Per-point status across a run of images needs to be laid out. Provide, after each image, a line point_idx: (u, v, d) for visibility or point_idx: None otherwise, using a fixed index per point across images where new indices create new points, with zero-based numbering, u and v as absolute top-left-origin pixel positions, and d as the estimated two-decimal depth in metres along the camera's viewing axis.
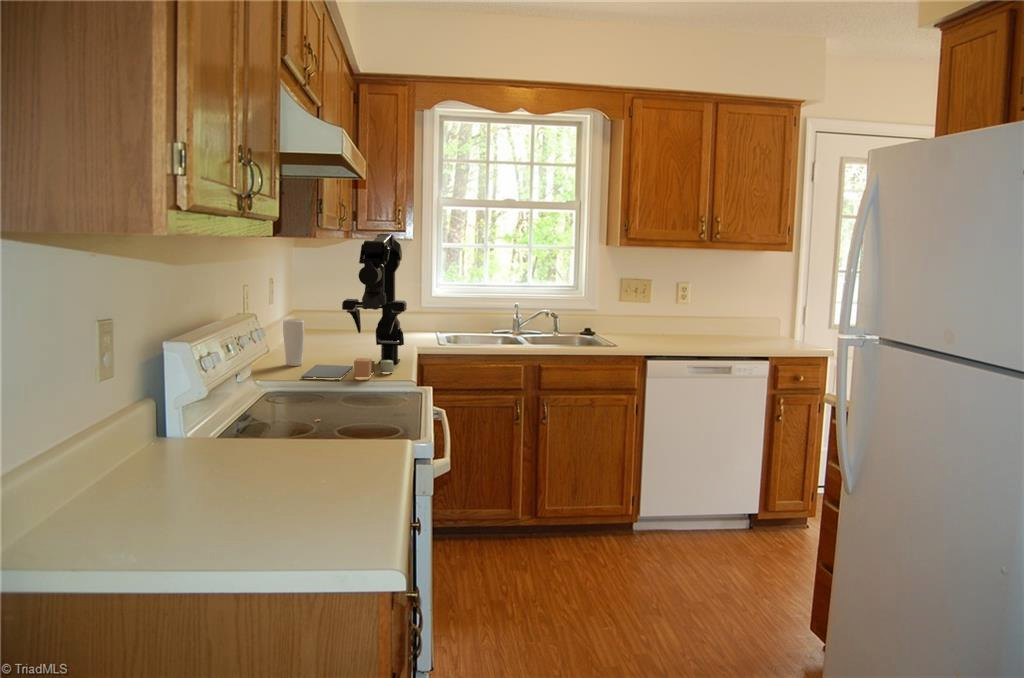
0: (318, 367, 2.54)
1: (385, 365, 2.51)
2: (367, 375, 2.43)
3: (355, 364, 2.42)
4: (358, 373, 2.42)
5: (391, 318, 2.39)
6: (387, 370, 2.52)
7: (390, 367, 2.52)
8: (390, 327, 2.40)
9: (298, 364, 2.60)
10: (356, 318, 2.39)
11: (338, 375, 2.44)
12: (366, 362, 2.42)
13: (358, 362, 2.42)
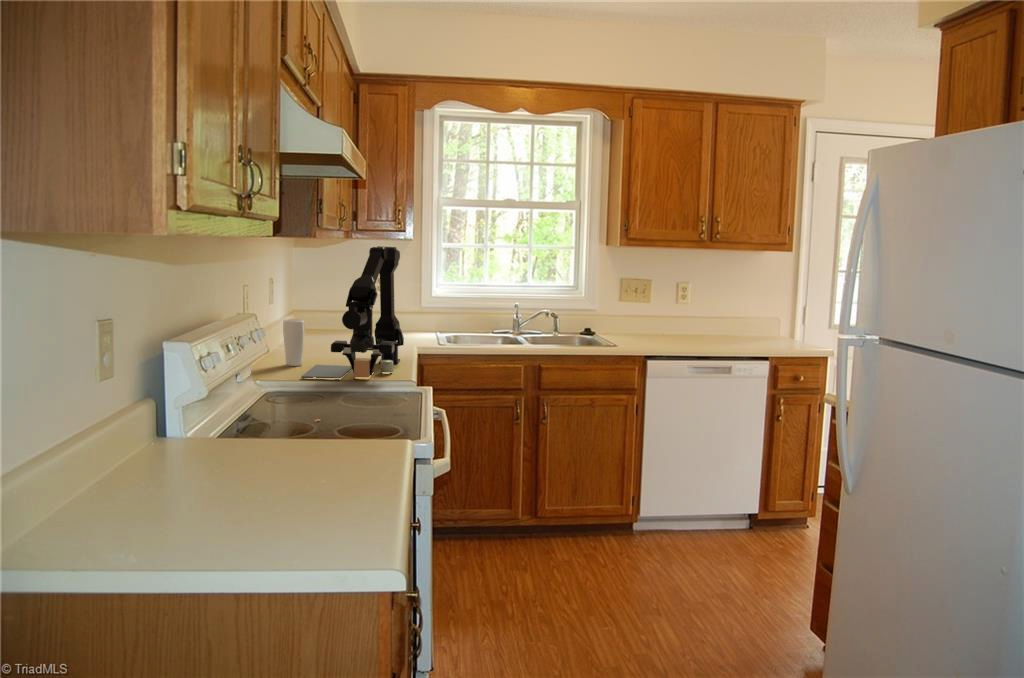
0: (318, 367, 2.54)
1: (385, 365, 2.51)
2: (367, 375, 2.43)
3: (355, 364, 2.42)
4: (358, 373, 2.42)
5: (372, 360, 2.43)
6: (387, 370, 2.52)
7: (390, 367, 2.52)
8: (371, 368, 2.44)
9: (298, 364, 2.60)
10: (352, 360, 2.43)
11: (338, 375, 2.44)
12: (366, 362, 2.42)
13: (358, 362, 2.42)
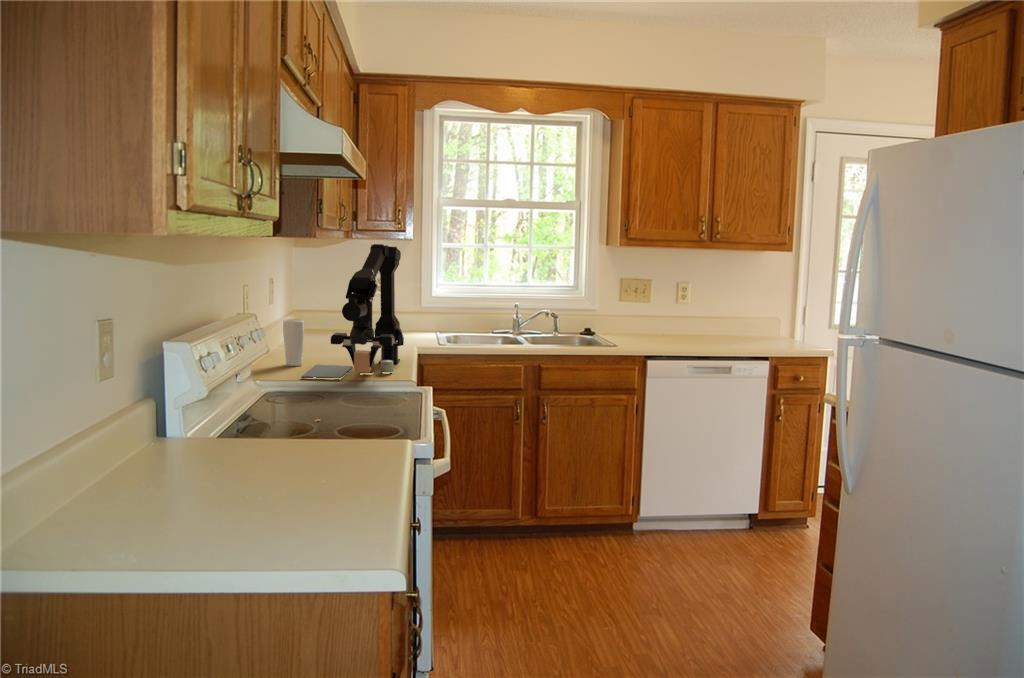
0: (318, 367, 2.54)
1: (385, 365, 2.51)
2: (367, 367, 2.42)
3: (355, 356, 2.42)
4: (358, 365, 2.42)
5: (372, 352, 2.42)
6: (387, 370, 2.52)
7: (390, 367, 2.52)
8: (371, 360, 2.43)
9: (298, 364, 2.60)
10: (351, 352, 2.42)
11: (338, 375, 2.44)
12: (366, 354, 2.41)
13: (358, 354, 2.41)
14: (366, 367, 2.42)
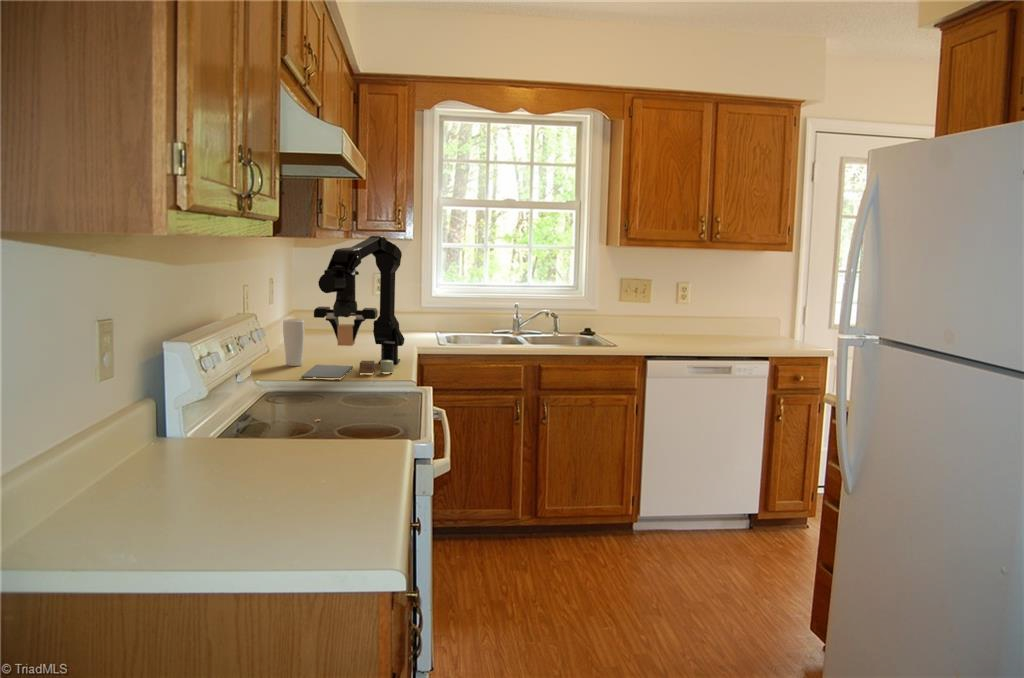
0: (318, 367, 2.54)
1: (385, 365, 2.51)
2: (350, 340, 2.43)
3: (338, 329, 2.43)
4: (341, 338, 2.43)
5: (355, 325, 2.43)
6: (387, 370, 2.52)
7: (390, 367, 2.52)
8: (354, 334, 2.44)
9: (298, 364, 2.60)
10: (335, 326, 2.43)
11: (338, 375, 2.44)
12: (349, 327, 2.42)
13: (341, 327, 2.42)
14: (349, 340, 2.43)
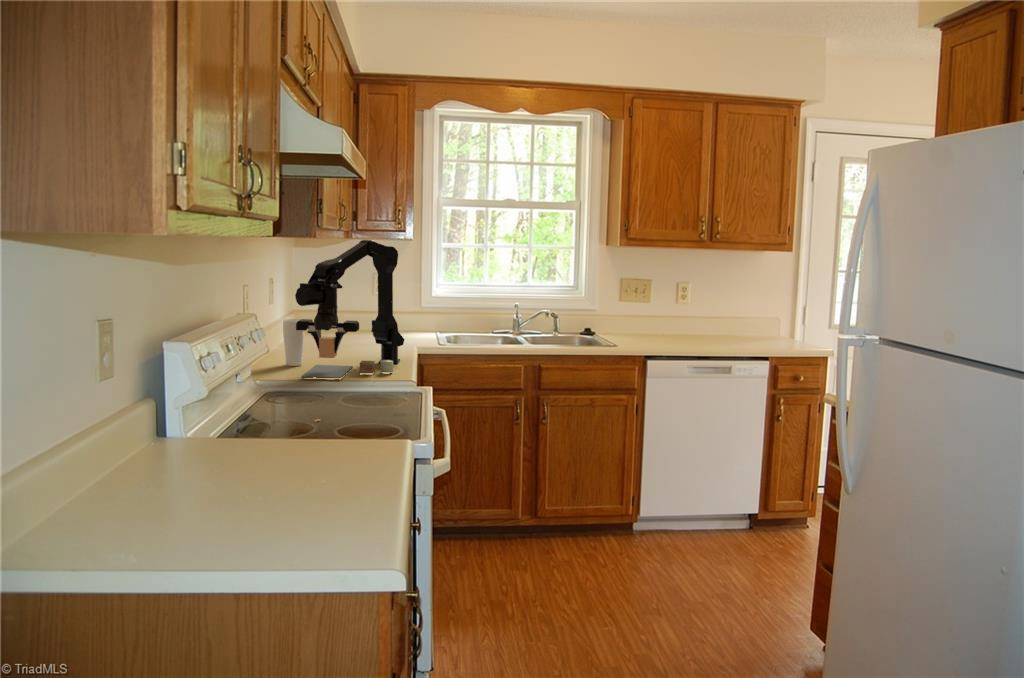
0: (318, 367, 2.54)
1: (385, 365, 2.51)
2: (332, 353, 2.47)
3: (320, 342, 2.46)
4: (323, 350, 2.46)
5: (337, 338, 2.47)
6: (387, 370, 2.52)
7: (390, 367, 2.52)
8: (336, 346, 2.48)
9: (298, 364, 2.60)
10: (317, 338, 2.47)
11: (338, 375, 2.44)
12: (331, 340, 2.46)
13: (323, 340, 2.46)
14: (331, 353, 2.47)
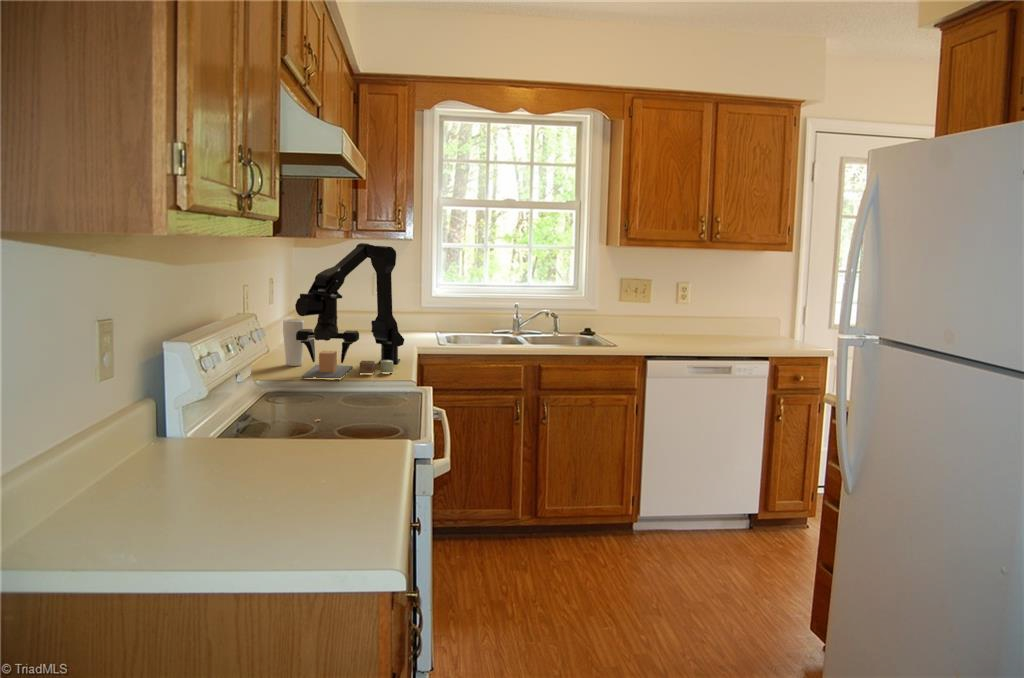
0: (318, 367, 2.54)
1: (385, 365, 2.51)
2: (332, 367, 2.47)
3: (320, 356, 2.47)
4: (323, 365, 2.47)
5: (343, 348, 2.47)
6: (387, 370, 2.52)
7: (390, 367, 2.52)
8: (342, 356, 2.48)
9: (298, 364, 2.60)
10: (310, 348, 2.47)
11: (338, 375, 2.44)
12: (331, 354, 2.47)
13: (323, 354, 2.47)
14: (331, 367, 2.47)
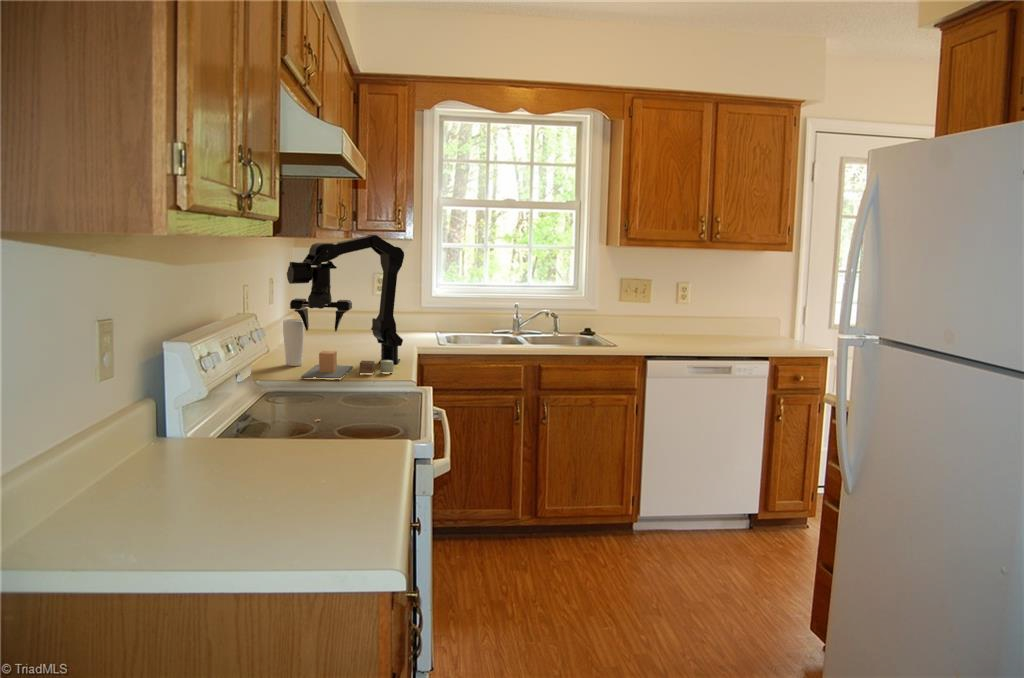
0: (318, 367, 2.54)
1: (385, 365, 2.51)
2: (332, 367, 2.47)
3: (320, 356, 2.47)
4: (323, 365, 2.47)
5: (337, 316, 2.53)
6: (387, 370, 2.52)
7: (390, 367, 2.52)
8: (336, 325, 2.54)
9: (298, 364, 2.60)
10: (304, 317, 2.53)
11: (338, 375, 2.44)
12: (331, 354, 2.47)
13: (323, 354, 2.47)
14: (331, 367, 2.47)
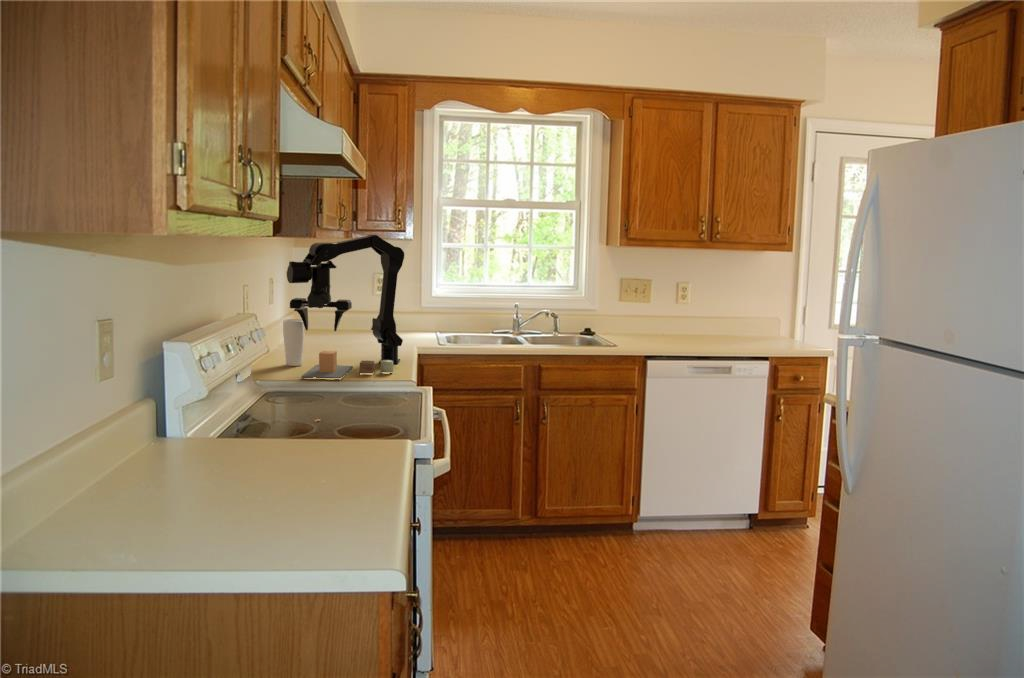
0: (318, 367, 2.54)
1: (385, 365, 2.51)
2: (332, 367, 2.47)
3: (320, 356, 2.47)
4: (323, 365, 2.47)
5: (336, 316, 2.54)
6: (387, 370, 2.52)
7: (390, 367, 2.52)
8: (335, 325, 2.55)
9: (298, 364, 2.60)
10: (303, 316, 2.54)
11: (338, 375, 2.44)
12: (331, 354, 2.47)
13: (323, 354, 2.47)
14: (331, 367, 2.47)
